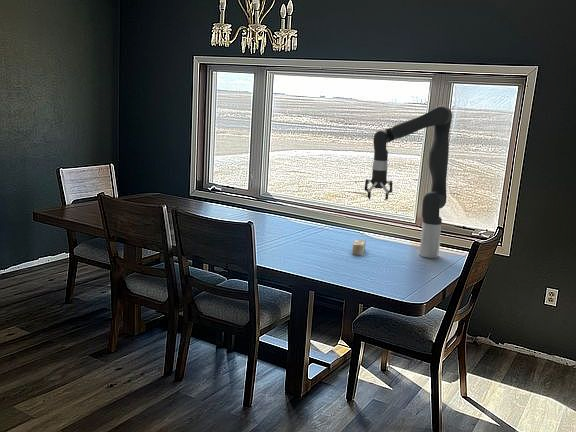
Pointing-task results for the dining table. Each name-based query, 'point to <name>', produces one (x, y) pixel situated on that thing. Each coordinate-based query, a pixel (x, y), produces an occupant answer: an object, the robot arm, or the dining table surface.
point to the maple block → (358, 246)
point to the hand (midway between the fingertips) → (377, 199)
